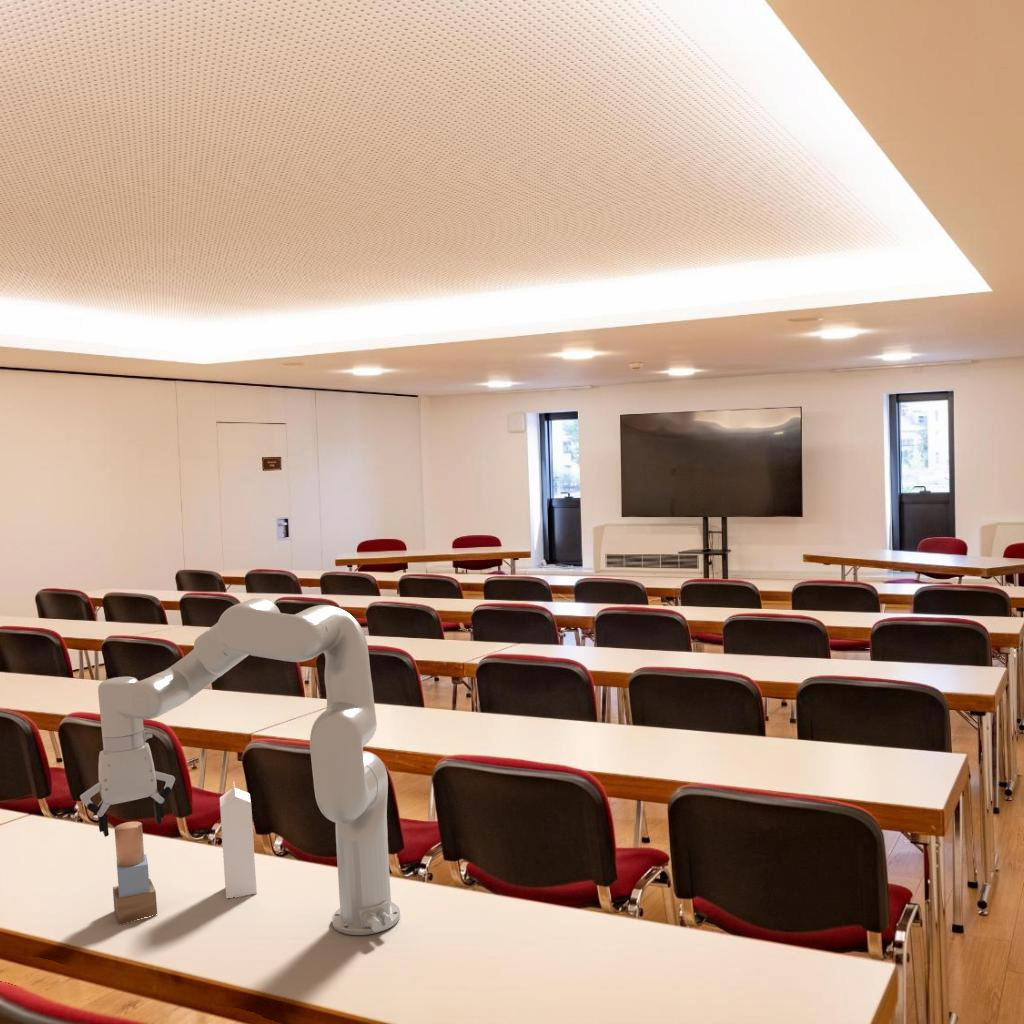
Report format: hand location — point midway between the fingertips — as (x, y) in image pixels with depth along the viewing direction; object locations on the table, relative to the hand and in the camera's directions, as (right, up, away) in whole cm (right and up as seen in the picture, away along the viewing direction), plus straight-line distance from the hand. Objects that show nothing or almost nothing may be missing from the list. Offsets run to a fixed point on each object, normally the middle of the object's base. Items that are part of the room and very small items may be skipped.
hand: (132, 828), depth 194 cm
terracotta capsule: (0, -7, 0) cm, 7 cm away
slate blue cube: (0, -12, 0) cm, 12 cm away
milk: (+19, -16, +9) cm, 26 cm away
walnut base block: (0, -17, +1) cm, 17 cm away
